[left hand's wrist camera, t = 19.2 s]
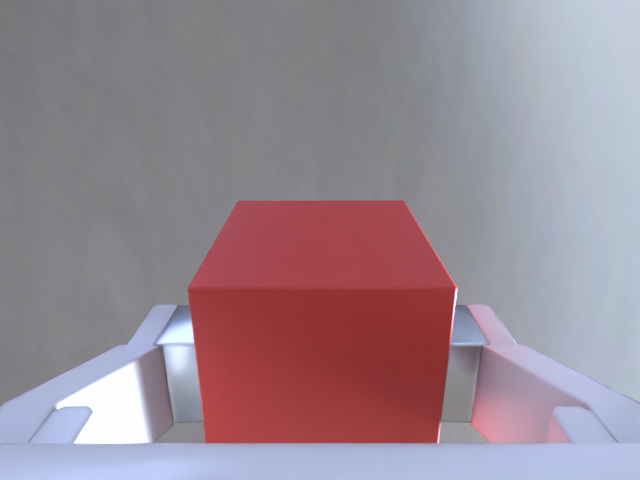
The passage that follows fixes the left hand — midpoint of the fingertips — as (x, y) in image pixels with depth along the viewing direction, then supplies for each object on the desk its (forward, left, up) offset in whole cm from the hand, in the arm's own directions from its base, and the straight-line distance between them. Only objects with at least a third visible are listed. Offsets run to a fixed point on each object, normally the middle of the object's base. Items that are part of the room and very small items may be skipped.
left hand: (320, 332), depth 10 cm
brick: (0, 0, -2) cm, 2 cm away
